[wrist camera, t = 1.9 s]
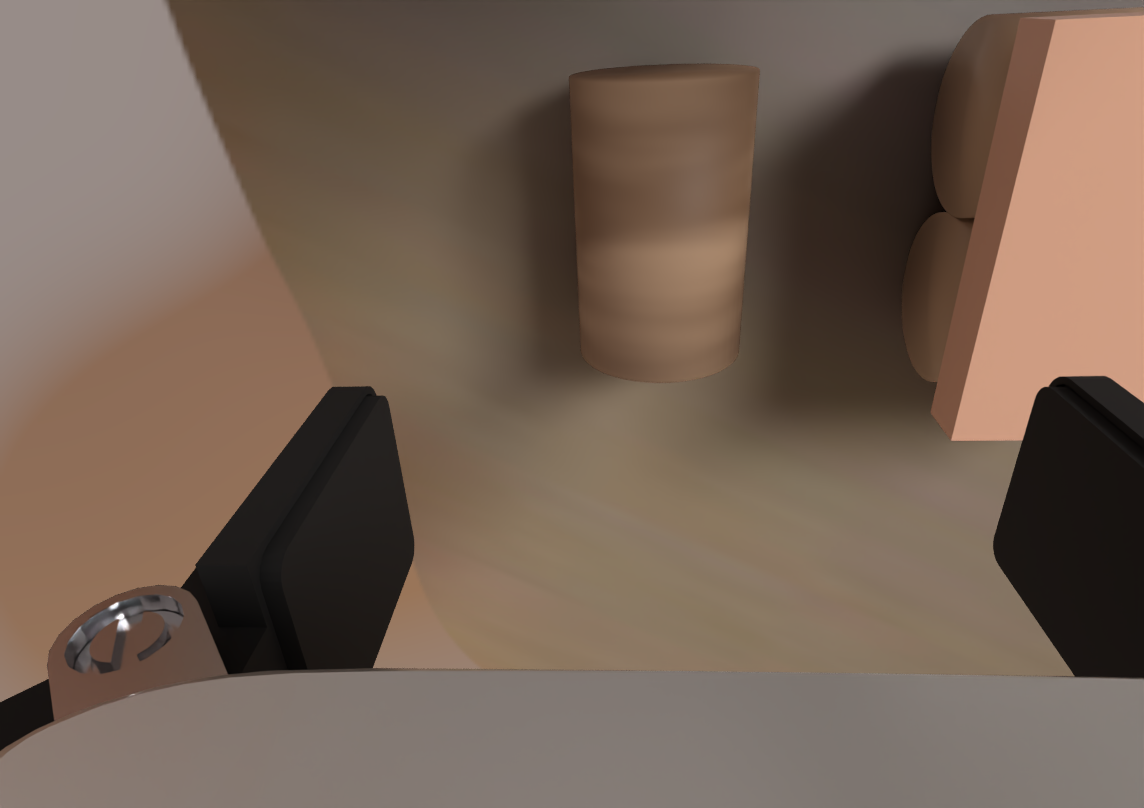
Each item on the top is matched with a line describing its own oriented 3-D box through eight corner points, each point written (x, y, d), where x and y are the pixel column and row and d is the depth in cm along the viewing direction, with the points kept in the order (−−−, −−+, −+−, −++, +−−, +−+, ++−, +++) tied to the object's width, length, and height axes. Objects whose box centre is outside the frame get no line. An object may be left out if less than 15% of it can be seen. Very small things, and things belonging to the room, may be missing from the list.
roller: (579, 67, 22) (557, 85, 17) (750, 60, 21) (770, 78, 17) (588, 316, 26) (572, 381, 21) (732, 316, 25) (745, 384, 21)
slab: (934, 13, 20) (1055, 19, 15) (1279, -4, 20) (1547, -4, 14) (876, 340, 25) (951, 440, 19) (1151, 336, 24) (1310, 438, 19)
